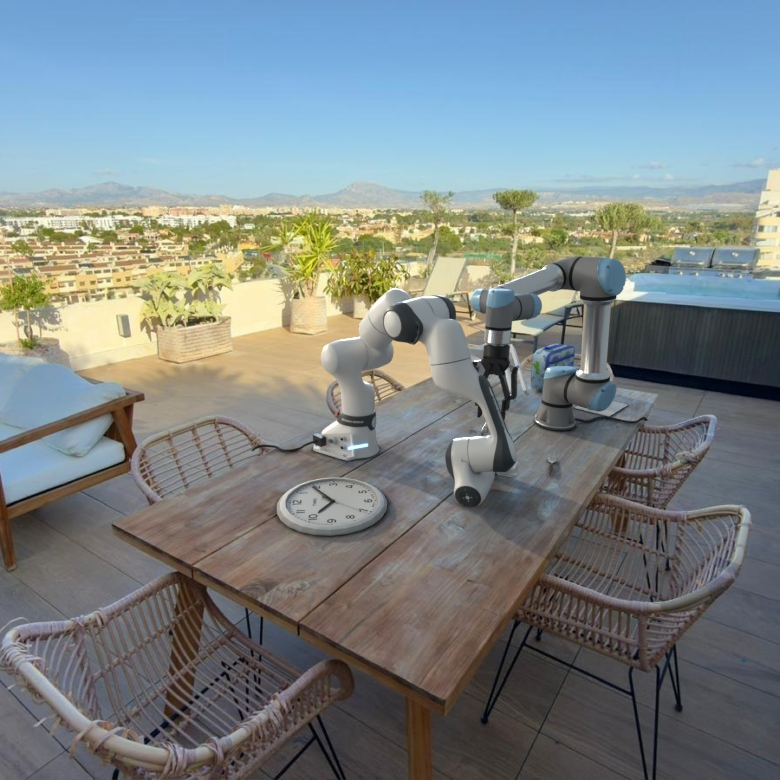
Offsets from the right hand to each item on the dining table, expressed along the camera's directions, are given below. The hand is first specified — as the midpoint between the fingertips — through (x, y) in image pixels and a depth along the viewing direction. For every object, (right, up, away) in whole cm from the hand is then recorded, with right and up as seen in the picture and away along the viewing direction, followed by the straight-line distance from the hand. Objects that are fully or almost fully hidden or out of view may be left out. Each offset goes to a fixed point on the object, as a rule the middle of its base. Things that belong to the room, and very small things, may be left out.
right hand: (491, 417), depth 158 cm
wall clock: (-46, -23, -15) cm, 54 cm away
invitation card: (+61, +1, +68) cm, 91 cm away
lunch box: (+47, +9, +94) cm, 105 cm away
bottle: (0, -17, +5) cm, 18 cm away
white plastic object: (+11, +7, +85) cm, 86 cm away
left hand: (0, -11, +4) cm, 12 cm away
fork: (+21, -16, +10) cm, 29 cm away
